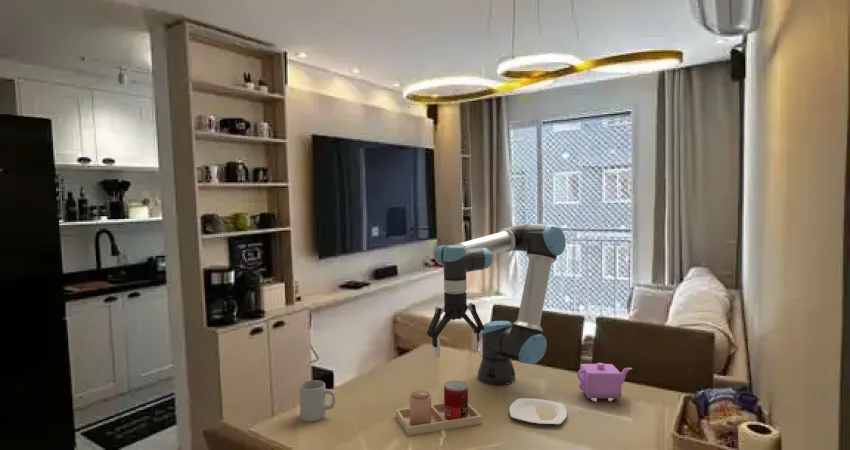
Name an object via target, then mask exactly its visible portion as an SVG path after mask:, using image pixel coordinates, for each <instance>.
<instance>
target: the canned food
mask: <svg viewBox="0 0 850 450" xmlns="http://www.w3.org/2000/svg"><path fill="white" fill-rule="evenodd" d="M443 393H444V394H443V401H444V402H443V403H444V415H445V418H446V419H448V420H454V419H460V418H467V416H468V403H469V385H468V383H467V382H464V381H462V380H450V381H447V382H445V383H444V386H443Z"/></svg>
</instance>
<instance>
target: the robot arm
mask: <svg viewBox="0 0 850 450" xmlns="http://www.w3.org/2000/svg"><path fill="white" fill-rule="evenodd" d="M566 243H567V242H566V236H565V234H564V231H563V229H562V228H561V227H560V226H558V225H555V224H550V223H528V222H527V223H519V224H516V225H512V226H509V227H505V228H501V229H500V230H499V231H498V232H497V233H496V232H495V233H492V234H488V235H485V236H481V237H477V238H474V239H469V240H467V241H463V242H460V243H455V244H449V245H447V244H443V245H438V247H436V249H435V251H434V260H435V262H436V263H437V264H438V265H440V266H442V267H443V290H444V293H443V297H444V298H443V299H444V300H443V302H444V305H443V307H439V306H436V307H435V308H434V314H433V316H432V320H431V322H430V324H429V326H428V329H427V332H426V335H427V336H428V337H430V338H431V339H432V340H431V344H432V347H433V348H434V356H435V357H436V358H437V359H438V358H441V338H440V337H439V335H440V334H441V333H442V331H443V330H444V329H445V327H446V326H447V325H448V323H449V322H450V321H451V320H452V321H455V320H462V319H463V320H464V322H466V324H468V325H469V327H470V328H471V329H472V330H471V351H473V352H474V353H477V352H478V342H480V334H481V343H482V345H481V350H482V353H481V355H482V356H481V357H482V358H481V362H480V365H479V367H478V371H477V379H478V380H479V381H480V382H483V383H485V384H488V385H496V386H497V385H498V384H499V385H500V384H504V385H508V384H507V383H509V384H511V383H510V382H512V381H514V380H515V381H516V371H515V369H514V368H515V367H514V365H513V362H512V360H515V361H517V362H518V361H519V362H521V363H524V364H528V365H534V364H537V363H538V362H539V361H541V359H542V358H543V357H544V355H545V353H546V350H547V346H548V345H547V344H548V343H547V339H546V337H545V336H544V335H543V332H544V330H543V328H542V326H541V320H542V315H543V310H544V306H545V305H544V304H545V299H546V295H547V289H548V285H549V284H548V283H549V278H550V273H551V267H552V264H554V263H555V262H556V261H557V257H558V256H560V255H562V254H563V253H564V251H565V249H566ZM514 251H516V252H517V251H518V252H525V253H526V255H525V256H527V258H528V263H527V269H526V275H525V280H524V285H523V290H522V295H521V300H520V306H519V309H518V310H519V312H518V315H517V319H516V320H515V321H514V322H511V321H509V320H494V321H488V322H485V323H484V324H483V322H482V319H481V318H480V316H479V313H478V312H477V309H476V305H475V304H474V303H473V302H469V304H467V302H468V301H467V295H468V294H467V292H466V291H467V273H469V272H475V271H483V270H485V269H488V268H490V267H491V265H492V263H493V255H495V254H498V253H500V252H506V253H509V252H514ZM467 311H470V313H471V316H472V318H473V319H474V321H472V320H471V319H470V317H469V316H468V314H467ZM443 313H444V315H443V316H442V314H443ZM441 316H442V319H441ZM440 319H441V320H440ZM474 322H475V323H474ZM481 332H482V333H481ZM515 381H514V382H515ZM512 383H513V382H512ZM499 385H498V386H499ZM500 386H501V385H500Z"/></svg>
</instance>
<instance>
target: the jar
mask: <svg viewBox="0 0 850 450" xmlns="http://www.w3.org/2000/svg"><path fill="white" fill-rule="evenodd" d="M431 404H432V394H431V393H430V392H429V391H427V390H424V389H417V390H414V391H412V393H410V394H409V408H410V424H411V425H412V426H416V425H422V424H428V423H431Z"/></svg>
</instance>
